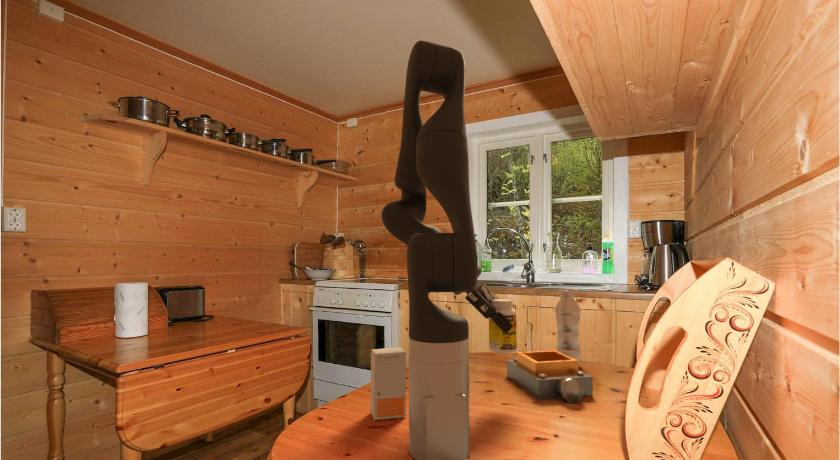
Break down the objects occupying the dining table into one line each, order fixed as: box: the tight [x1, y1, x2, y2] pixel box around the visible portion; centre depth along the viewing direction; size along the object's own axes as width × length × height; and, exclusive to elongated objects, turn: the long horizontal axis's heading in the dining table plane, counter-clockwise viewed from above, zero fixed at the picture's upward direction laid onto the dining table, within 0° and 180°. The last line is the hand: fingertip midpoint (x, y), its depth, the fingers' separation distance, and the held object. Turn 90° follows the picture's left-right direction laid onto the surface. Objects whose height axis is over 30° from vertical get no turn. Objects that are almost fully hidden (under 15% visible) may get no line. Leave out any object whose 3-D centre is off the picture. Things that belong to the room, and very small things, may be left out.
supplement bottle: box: [488, 298, 517, 354], centre depth 89 cm, size 6×6×10 cm
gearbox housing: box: [506, 349, 594, 404], centre depth 96 cm, size 20×12×6 cm, turn 11°
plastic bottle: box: [554, 288, 583, 366], centre depth 114 cm, size 6×7×20 cm
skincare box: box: [370, 347, 407, 421], centre depth 81 cm, size 6×4×12 cm
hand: (511, 327), depth 88 cm, fingers closed on supplement bottle, 5 cm apart
